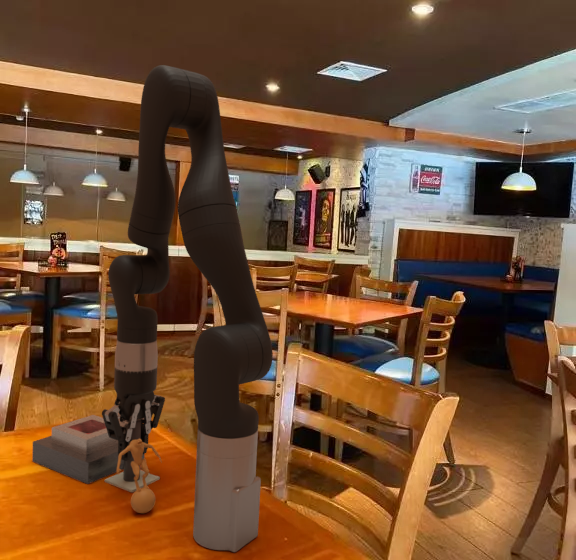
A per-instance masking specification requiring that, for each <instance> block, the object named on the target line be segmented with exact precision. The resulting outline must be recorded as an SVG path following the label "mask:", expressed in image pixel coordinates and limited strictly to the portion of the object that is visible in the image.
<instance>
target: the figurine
mask: <svg viewBox="0 0 576 560" xmlns="http://www.w3.org/2000/svg"><path fill="white" fill-rule="evenodd" d="M144 447H146V448H148V449H151V450H152V452H153V453H154V454H155V456H156V457H157V458H159V461H160V463H161V464H162V463H163V462H162V458H161V456H160V454H159V452H158V451H157V450H156V448H155V447H154V446H153V445H152V444H149V443H148V444H146V443H144V442H142V440H141V439H137V440H132V441H131V442H130V444H129V446H127V447H126V449H124V450H123V451H122V452H121V453H120V454H119V456H118V464H117V472H116V473H117V474H118V475H119V474H120V473H121V471H122V470H121V469H119V467H120V464H121V458H122V455H124V454H125V453H127V452H128V451H131V453H132V456H133V458H134V461H132V462H131V467H132V469H133V472H134V474H135V475H136V476H135V477H134V480H135V485H136V489H137V490H136V491H134V492H132V495H131V498H130V506H131V508H132V510H134V511H135V512H136V513H138V514H147V513H149V512H150V511H151V510H152V509H153V508H154V506H155V504H156V495H155V493H154V492H153V490H152V489H150V487H149V486H148V485H147V484H146V481H145V478H146V477H147V475H148V474H149V473H150V469H149V467H148V465H147V459H146V458H145V457H144V458H143V460H142V455H143V452H144ZM139 466H140V467H139ZM119 470H120V471H119ZM140 470H142V471H144V472H145V474H143V476H142V477H143V478H142V481H143V485H144V487H142V488H140V487H139V485H138V482H137V480H138V478H139V471H140Z"/></svg>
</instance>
